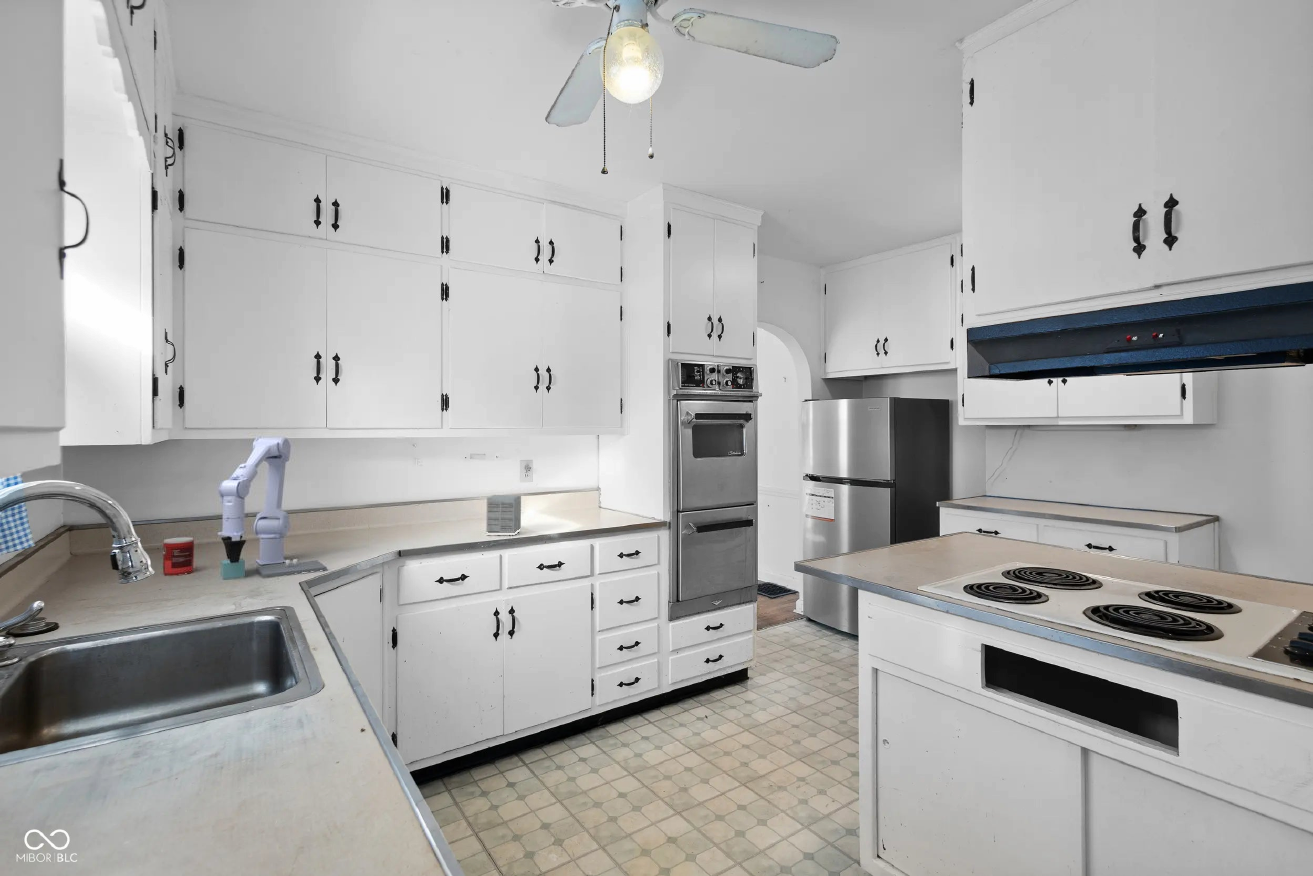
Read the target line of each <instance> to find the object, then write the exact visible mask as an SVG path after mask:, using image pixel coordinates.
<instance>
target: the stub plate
mask: <svg viewBox="0 0 1313 876" xmlns="http://www.w3.org/2000/svg"><path fill="white" fill-rule="evenodd" d="M285 560H286V562H285V563H277V564H268V565H260V566H256V570H257V571H258V572H259V573H260V574H259V573H258V572H257V571H256V572H257V573H258V574H259V575H260V576H261V578H262V577H263V578H262V579H266V578H265V577H269V578H275V577H276V576H277V577H285V576H284V575H286V576H291V574H294V575H296V574H295V573H302V572H311V571H320V570H328V567H327V566H326V565H325V564H323V563H322V562H320V561H319V560H308V561H300V562H299V561H298V560H299V559H298V558H293V561H292V562H291V559H285ZM320 572H321V571H320ZM311 573H312V572H311Z"/></svg>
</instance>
